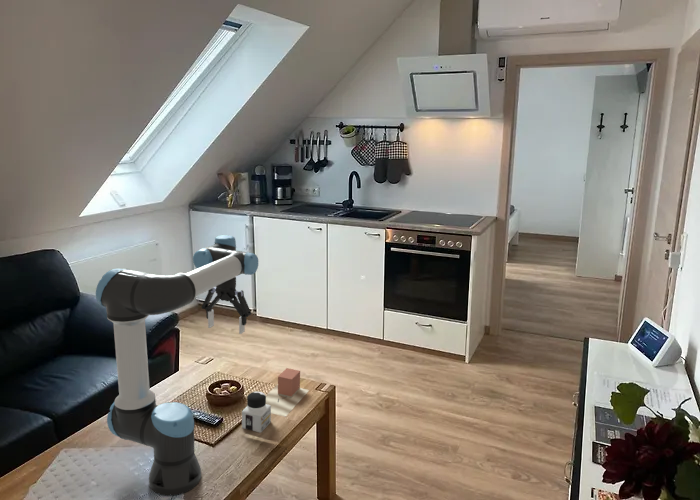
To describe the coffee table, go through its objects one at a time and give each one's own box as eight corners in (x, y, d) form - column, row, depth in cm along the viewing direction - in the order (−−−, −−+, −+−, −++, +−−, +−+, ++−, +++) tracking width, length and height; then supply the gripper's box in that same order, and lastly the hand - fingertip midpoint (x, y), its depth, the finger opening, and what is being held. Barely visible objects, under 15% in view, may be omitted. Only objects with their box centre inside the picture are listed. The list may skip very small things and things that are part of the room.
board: (285, 419, 199) (285, 416, 199) (252, 411, 203) (252, 408, 203) (309, 392, 219) (309, 389, 219) (278, 385, 224) (278, 383, 223)
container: (260, 435, 188) (261, 401, 185) (241, 430, 191) (241, 397, 188) (271, 424, 195) (271, 391, 192) (252, 419, 198) (252, 387, 195)
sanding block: (291, 397, 212) (291, 379, 210) (277, 394, 214) (278, 376, 212) (299, 388, 220) (300, 370, 218) (286, 385, 221) (286, 368, 219)
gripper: (260, 278, 200) (260, 331, 205) (203, 269, 208) (204, 321, 213) (250, 283, 193) (250, 338, 198) (191, 274, 201) (192, 327, 206)
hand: (226, 329), depth 205 cm, fingers open, 13 cm apart
